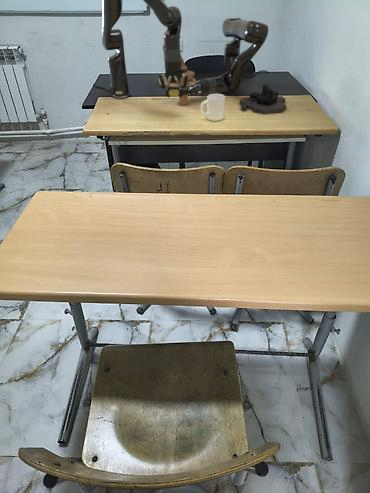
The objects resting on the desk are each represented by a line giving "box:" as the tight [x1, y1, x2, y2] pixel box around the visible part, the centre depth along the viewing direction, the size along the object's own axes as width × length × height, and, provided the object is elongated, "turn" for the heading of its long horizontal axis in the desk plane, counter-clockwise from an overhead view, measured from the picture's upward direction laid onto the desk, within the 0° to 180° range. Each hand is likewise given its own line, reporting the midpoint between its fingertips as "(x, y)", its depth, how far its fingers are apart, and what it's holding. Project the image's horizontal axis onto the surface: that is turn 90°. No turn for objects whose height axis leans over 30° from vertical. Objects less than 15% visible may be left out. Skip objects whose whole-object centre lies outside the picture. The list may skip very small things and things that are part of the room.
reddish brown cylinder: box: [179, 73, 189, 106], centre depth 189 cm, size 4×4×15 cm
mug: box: [199, 93, 226, 122], centre depth 172 cm, size 12×8×10 cm
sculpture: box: [157, 29, 198, 89], centre depth 214 cm, size 27×24×30 cm
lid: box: [169, 88, 179, 97], centre depth 173 cm, size 6×6×2 cm
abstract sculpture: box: [239, 84, 287, 115], centre depth 184 cm, size 25×9×20 cm
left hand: (174, 97), depth 175 cm, fingers closed on lid, 5 cm apart
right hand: (179, 91), depth 188 cm, fingers closed on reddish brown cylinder, 4 cm apart
